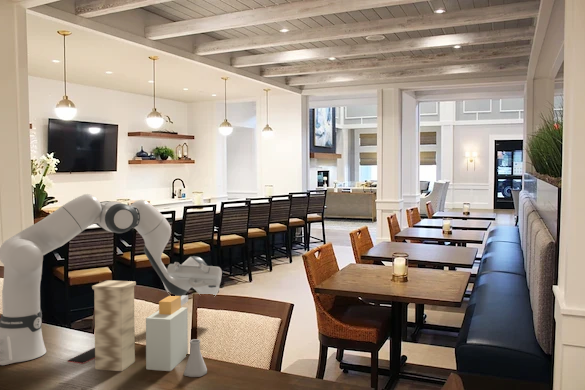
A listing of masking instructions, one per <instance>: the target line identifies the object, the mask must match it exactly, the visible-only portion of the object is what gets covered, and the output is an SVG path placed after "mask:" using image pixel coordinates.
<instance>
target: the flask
mask: <svg viewBox="0 0 585 390" xmlns="http://www.w3.org/2000/svg"><path fill="white" fill-rule="evenodd" d="M189 343H190V352H189V355H188V359H187V361H186V366H185V368H184V371H183V376H186V377H189V378H197V377H200V378H201V377H202V376H205V375H207V373H208V368H207V365H206V362H205V361H204V358H203V357H204V356H203V355H202V352H201V347H200V345H201V344H200V343H201V339H199V338H198V339H197V338H196V339H195V338H193V339H191V340H190V341H189Z"/></svg>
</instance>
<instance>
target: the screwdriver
mask: <svg viewBox="0 0 585 390" xmlns="http://www.w3.org/2000/svg"><path fill="white" fill-rule="evenodd" d="M188 302H189V295H188V294H187V295H186V294H185V295H182V296H171V295H168V296H166V297H164V298H163V299H161V300H160V301H158V304H159V305H158V310H159V314H169V315H171V314H173V313H174V312H176V311H177V310H179V309H180V308H181V307H183V306H184V305H185V304H186V303H188Z"/></svg>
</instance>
